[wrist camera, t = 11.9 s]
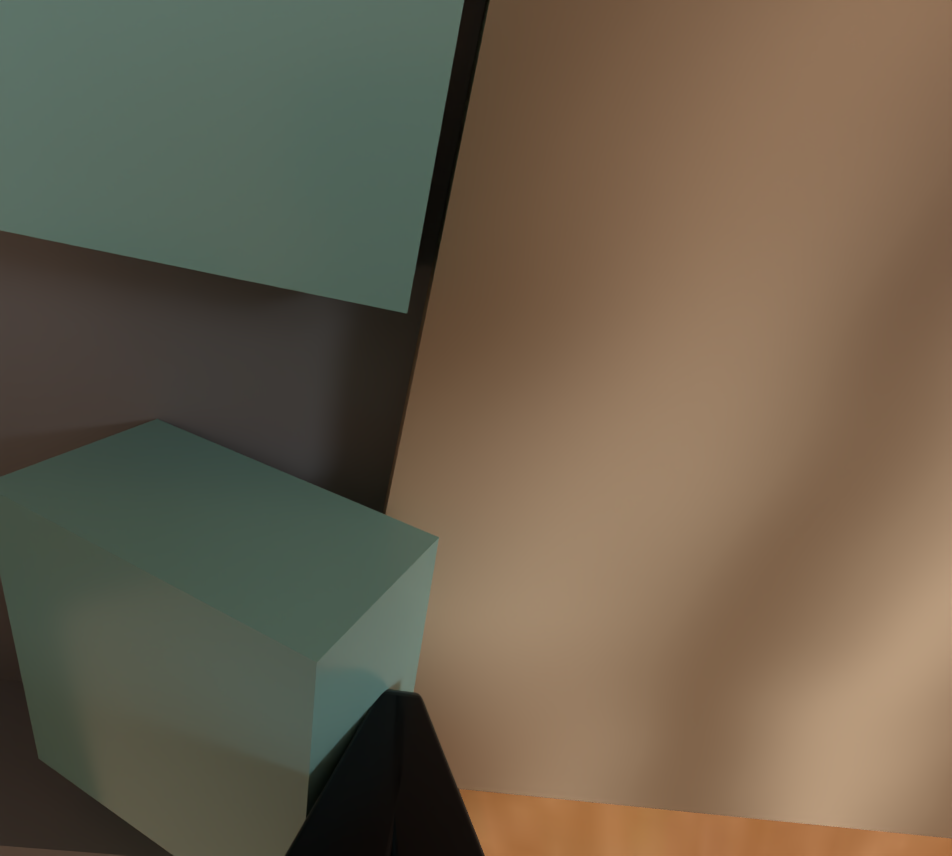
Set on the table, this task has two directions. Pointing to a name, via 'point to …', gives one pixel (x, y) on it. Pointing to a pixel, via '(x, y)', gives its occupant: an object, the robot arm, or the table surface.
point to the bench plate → (694, 412)
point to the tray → (191, 412)
